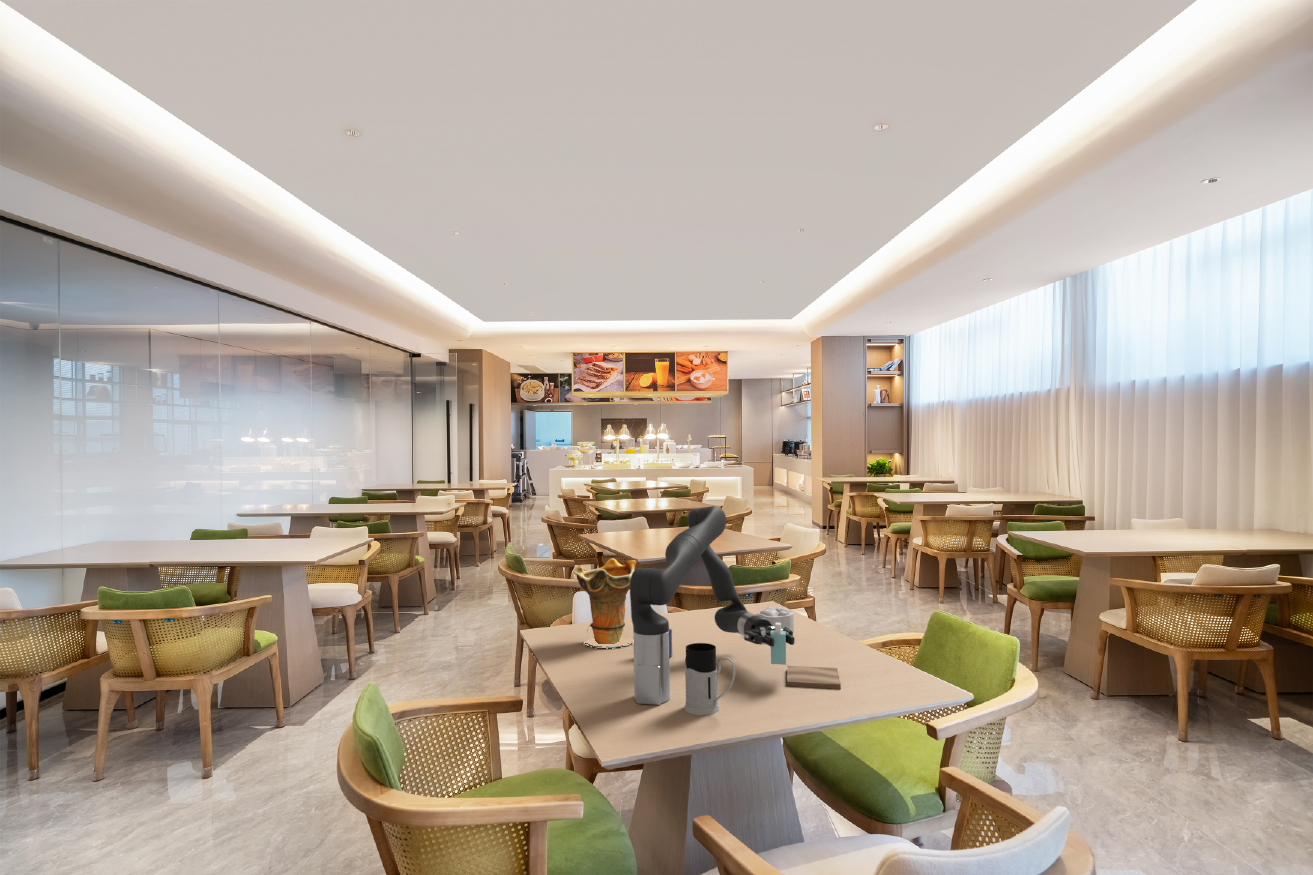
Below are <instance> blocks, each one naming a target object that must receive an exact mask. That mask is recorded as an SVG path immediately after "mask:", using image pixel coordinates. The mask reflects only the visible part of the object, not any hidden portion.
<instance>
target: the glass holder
mask: <svg viewBox="0 0 1313 875" xmlns="http://www.w3.org/2000/svg"><path fill="white" fill-rule="evenodd" d="M724 660H727V661H729V662H730V663H731V666H732V677H731V681H730V684H729V686H728V688H727V689H726V690H725V691H724V692H723V693H721V694H720V695H718V674H719V673H721V672H722V671H721V670H722V662H723V661H724ZM684 662H685V663H684V666H685V672H684V674H685V704H684V708H683V709H684V711H685V712H686V713H687V714H691V715H693V716H710V715H714V714H716V712H717V713H719V711H720V710H719V709H720V705H719V703H718V700H719V699H720V698H722V697H723V696H725V694H726V693H728V692H729V691H730V690H731V689H732V687H733V685H734V682H735V678H736V667H735V666H736V665H735V662H734V661H733V660H732V659H731V658H730V657H727V656H726V657H725V656H724V657H722V658H720V660H719V661H718V667H717V647H716V645H715V644H711V643H705V642H695V643H690V644H687V645H686V646H685V659H684Z"/></svg>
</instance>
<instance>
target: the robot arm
mask: <svg viewBox="0 0 1313 875" xmlns="http://www.w3.org/2000/svg"><path fill="white" fill-rule="evenodd" d="M726 517H727V515H726V514H725V511H724V510H723V509H722V507H719V506H715V505H711V506H705V507H700V508H695V509H691V510H690V511H689V512H688V515H687V524H688V528H687V529H685V530H683V531H681V532H680V533H678V534H676V536H675V537H674V538H672V540H671V541H670V542H669V543H668V545H667V546H666V549H665V554H664V555H665V561H666V564H667V566H666V567H664V568H652V567H651V568H650V567H649V568H648V567H639V568H635V571H634V572H633V573H632V576H631V580H630V589H629V599H630V615H631V616H630V617H631V622H632V628H633V629H632V630H633V633H632V634H633V636H632V637H633V638H632V639H633V640H634V644H633V690H634V691H633V694H634V695H633V697H634V700H635V701H636V704H639V705H641V704H644V705H658V706H659V705H661V704H664V703H667V702H668V701H669V700H670V698H671V688H670V687H671V684H670V682H671V681H670V678H671V677H670V658H669V628H670V624H669V620H668V619H667V617H665V616H663V615H662V614H660V613H657V611H656V610H654V609H653V607H652V606H665V605H668V604H669V603H670V602H671V601H672V600H673V598H674V597H675V595H676V593H677V591H678V589H679V587H680V586H681V584H682V582H683V580H684V579H685V577H686V576H687V574H688V573H689V572H690V570H691V569H692V568H693V567H694V566H695V565H696V563H697V562H698V560H699V559H700V558H701V559H702V562H703V564H704V567H705V569H706V572H707V575H708V579H709V582H710V586H711V588H712V592H713V593H712V594H713V596H714V598H715V600H716V601H719V602H726V601H730V603H731V604H728V605H726V606H723V607H720V608H719V609H717V610H716V612H715V614H714V622H715V625H716V626H717V627H718V629H719V630H721V631H723V632H725V633H731V634H735V633H736V634H740V635H741V636H742V637H743V638H744V641H747V642H749V643H752V644H754V645H767V646H769V647H770V648H771V647H774V639H773V638H772V637H771V630H772V631H775V627H774V626H772V624H771V623H770V621H769V620H767V619H765V618H763V617H761V616H758V615H757V613H756V614H755V613H751V612H750V611H748V610H747V607H746V606H745V605H744V603H743V601H742V600H741V598H740V596H739V594H738V592H737V590H736V588H735V587H736V586H735V584H734V579H733V575H732V572H731V570H730V569H729V567H728V566H727V563H725V562H724V561H723V560H722V559H721V558H720V556H719V555H718V554H717V553H716V552H715V551H714V549H713V548H712V547H711V544H712V543H713V542H714V541H715V540H716V539H717V538H718V537H720V536H721V535H722V534H723V533H724V530H726V529H725V528H726V527H727V526H726V525H727V518H726ZM781 631H786V644H788V645H790V646H791V645H792V646H793V645H795V637H794V634H793V631H791V630H790V629H789V628H787V627H783V630H782V629H781Z"/></svg>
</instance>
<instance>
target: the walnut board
mask: <svg viewBox="0 0 1313 875" xmlns="http://www.w3.org/2000/svg"><path fill="white" fill-rule="evenodd" d="M786 671H787V672H786V673H787V674H786V686H787V687H797V688H799V687H801V688H816V689H817V688H818V689H819V688H820V689H832V690H833V689H834V690H835V689H837V690H838V689H839V690H841V687H842V686H841V679H840V676H839V675H840V674H839V670H838V668H837V667H826V666H825V667H824V666H821V667H819V666H805V665H804V666H803V665H800V666H799V665H787V670H786Z"/></svg>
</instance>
